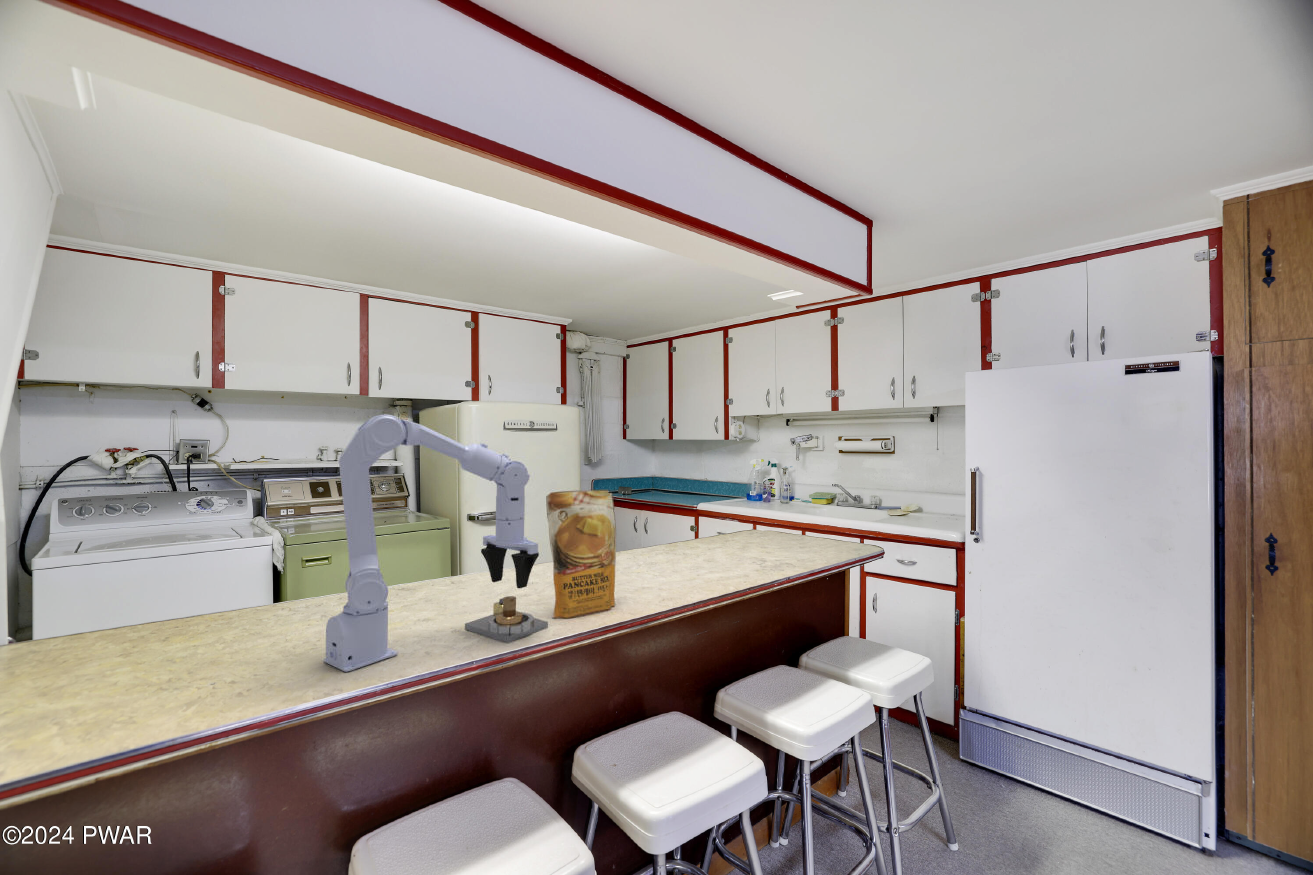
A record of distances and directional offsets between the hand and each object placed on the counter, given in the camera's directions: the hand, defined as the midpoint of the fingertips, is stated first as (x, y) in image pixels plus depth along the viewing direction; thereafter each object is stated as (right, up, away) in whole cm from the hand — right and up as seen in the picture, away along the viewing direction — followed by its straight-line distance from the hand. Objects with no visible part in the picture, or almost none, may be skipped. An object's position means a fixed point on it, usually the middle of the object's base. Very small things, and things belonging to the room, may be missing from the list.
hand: (509, 584), depth 114 cm
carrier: (-1, -10, +2) cm, 10 cm away
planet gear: (0, -9, -1) cm, 9 cm away
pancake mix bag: (+13, -10, +14) cm, 22 cm away
